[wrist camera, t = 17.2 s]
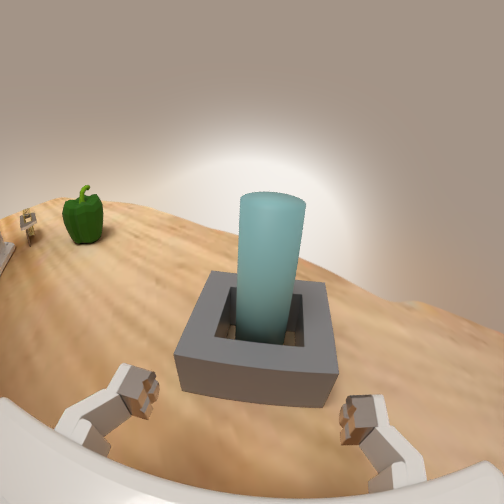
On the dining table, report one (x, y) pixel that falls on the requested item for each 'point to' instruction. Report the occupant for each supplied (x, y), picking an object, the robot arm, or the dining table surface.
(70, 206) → the bell pepper
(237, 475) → the dining table surface
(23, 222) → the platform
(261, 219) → the peg
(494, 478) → the robot arm
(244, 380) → the socket block
